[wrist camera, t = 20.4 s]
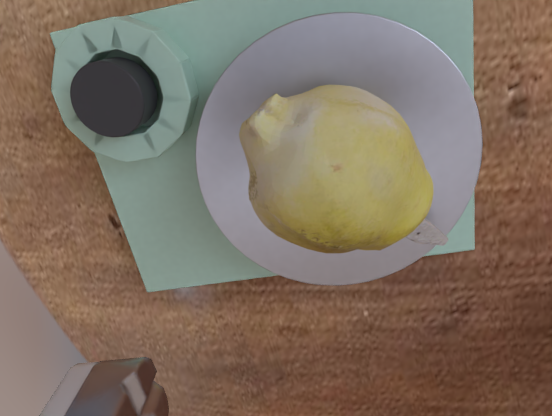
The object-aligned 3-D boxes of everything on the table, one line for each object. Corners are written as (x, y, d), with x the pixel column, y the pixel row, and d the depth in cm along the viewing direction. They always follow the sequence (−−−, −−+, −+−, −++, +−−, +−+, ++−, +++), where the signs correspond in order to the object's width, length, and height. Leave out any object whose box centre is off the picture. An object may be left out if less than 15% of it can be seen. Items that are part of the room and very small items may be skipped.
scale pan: (233, 290, 22) (231, 299, 21) (165, 46, 17) (159, 47, 16) (476, 259, 20) (482, 268, 20) (475, -19, 16) (483, -21, 15)
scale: (154, 279, 26) (136, 310, 23) (64, 31, 20) (26, 34, 17) (465, 237, 23) (487, 267, 20) (461, -57, 18) (489, -70, 15)
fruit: (393, 276, 20) (199, 188, 17) (457, 162, 19) (265, 51, 17) (472, 341, 15) (206, 227, 12) (565, 185, 14) (306, 24, 11)
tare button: (103, 133, 19) (85, 143, 18) (78, 64, 18) (57, 69, 16) (166, 121, 19) (153, 131, 17) (145, 50, 18) (129, 54, 16)
